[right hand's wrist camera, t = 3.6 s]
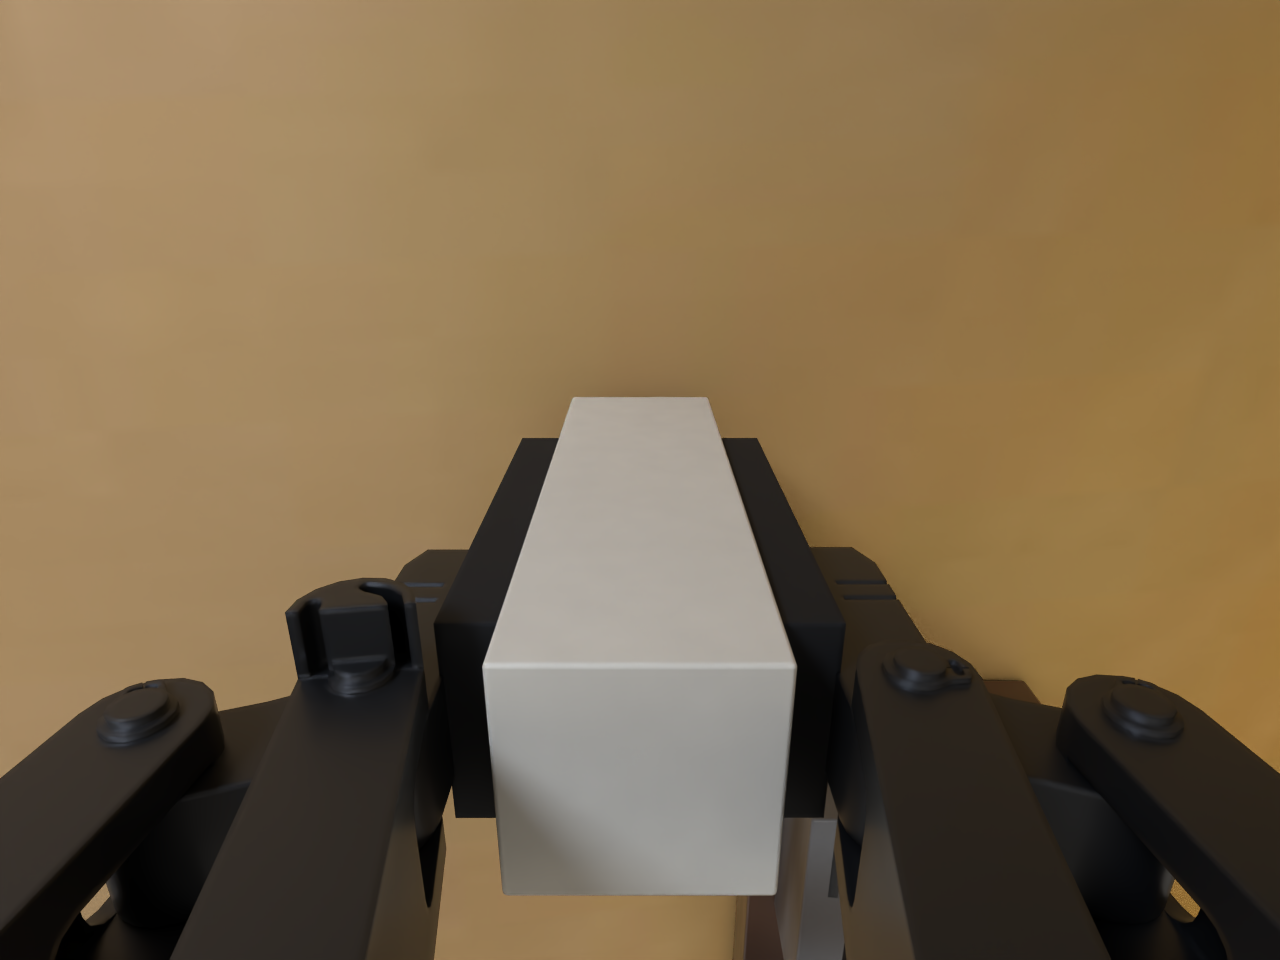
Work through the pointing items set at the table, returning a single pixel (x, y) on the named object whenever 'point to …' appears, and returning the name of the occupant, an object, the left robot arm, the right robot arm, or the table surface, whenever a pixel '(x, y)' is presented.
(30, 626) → the table surface
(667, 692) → the peg
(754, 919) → the peg board
